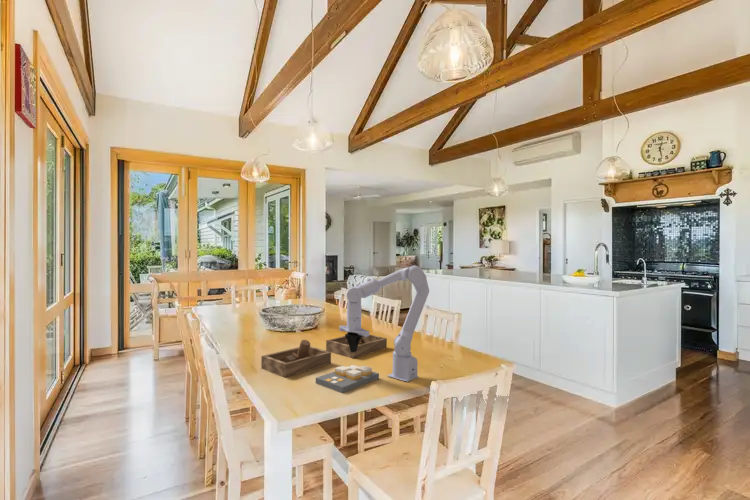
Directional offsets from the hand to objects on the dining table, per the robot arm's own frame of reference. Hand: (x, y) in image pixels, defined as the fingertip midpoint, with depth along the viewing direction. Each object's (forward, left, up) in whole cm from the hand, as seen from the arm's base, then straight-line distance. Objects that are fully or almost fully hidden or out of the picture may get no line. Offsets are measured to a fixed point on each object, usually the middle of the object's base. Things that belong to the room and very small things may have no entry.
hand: (353, 351), depth 158 cm
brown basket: (+21, -29, -10) cm, 37 cm away
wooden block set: (+23, +8, -10) cm, 26 cm away
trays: (+24, -10, -9) cm, 28 cm away
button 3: (0, 0, -9) cm, 9 cm away
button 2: (-6, +6, -8) cm, 11 cm away
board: (-3, +6, -9) cm, 11 cm away
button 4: (0, +6, -8) cm, 10 cm away
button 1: (-6, 0, -8) cm, 10 cm away
